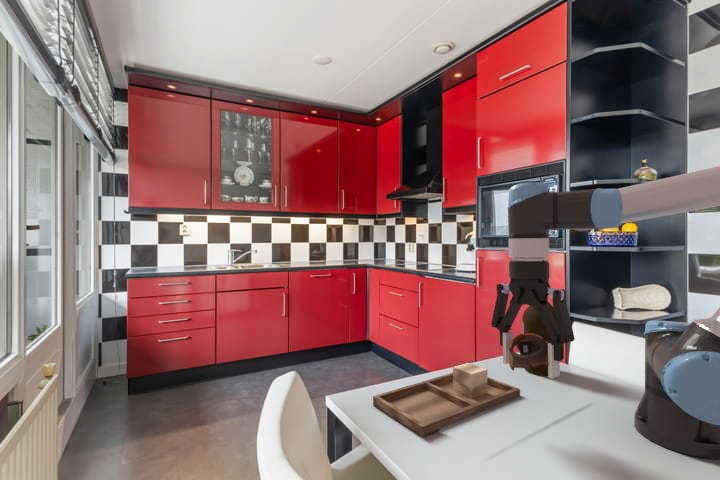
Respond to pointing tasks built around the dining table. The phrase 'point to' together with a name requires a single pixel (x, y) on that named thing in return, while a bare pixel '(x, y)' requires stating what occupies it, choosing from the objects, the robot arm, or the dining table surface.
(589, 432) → the dining table surface
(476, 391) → the beech block
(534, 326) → the olive oil
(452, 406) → the walnut tray
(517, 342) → the pottery mug
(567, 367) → the dining table surface
